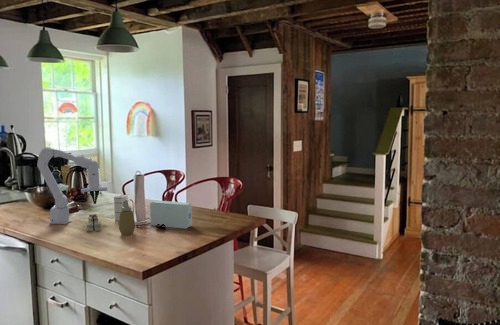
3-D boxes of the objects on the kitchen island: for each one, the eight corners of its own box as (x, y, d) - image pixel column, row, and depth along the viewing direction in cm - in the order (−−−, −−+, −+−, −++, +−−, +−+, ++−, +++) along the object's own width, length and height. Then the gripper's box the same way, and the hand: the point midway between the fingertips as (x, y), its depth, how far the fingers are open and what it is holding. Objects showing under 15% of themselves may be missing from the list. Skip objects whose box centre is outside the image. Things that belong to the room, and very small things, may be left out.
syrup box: (123, 221, 233) (122, 196, 231) (114, 220, 234) (113, 196, 233) (128, 218, 239) (127, 194, 237) (119, 218, 240) (118, 194, 238)
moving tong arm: (86, 223, 228) (86, 217, 228) (92, 222, 229) (92, 216, 229) (86, 231, 212) (86, 224, 211) (93, 230, 213) (92, 224, 212)
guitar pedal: (149, 225, 224) (149, 202, 223) (155, 223, 230) (154, 200, 228) (187, 229, 217) (186, 205, 216) (192, 226, 222) (191, 203, 221)
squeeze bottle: (126, 237, 202) (125, 202, 200) (115, 234, 206) (114, 200, 204) (138, 233, 209) (137, 199, 207) (128, 231, 213) (126, 198, 211)
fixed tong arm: (89, 221, 233) (89, 214, 232) (99, 220, 235) (99, 213, 235) (89, 231, 212) (89, 224, 212) (101, 230, 214) (100, 222, 214)
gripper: (80, 182, 229) (81, 205, 230) (107, 181, 234) (108, 203, 236) (80, 180, 235) (81, 203, 237) (106, 179, 241) (107, 201, 242)
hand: (94, 203), depth 237 cm, fingers closed
